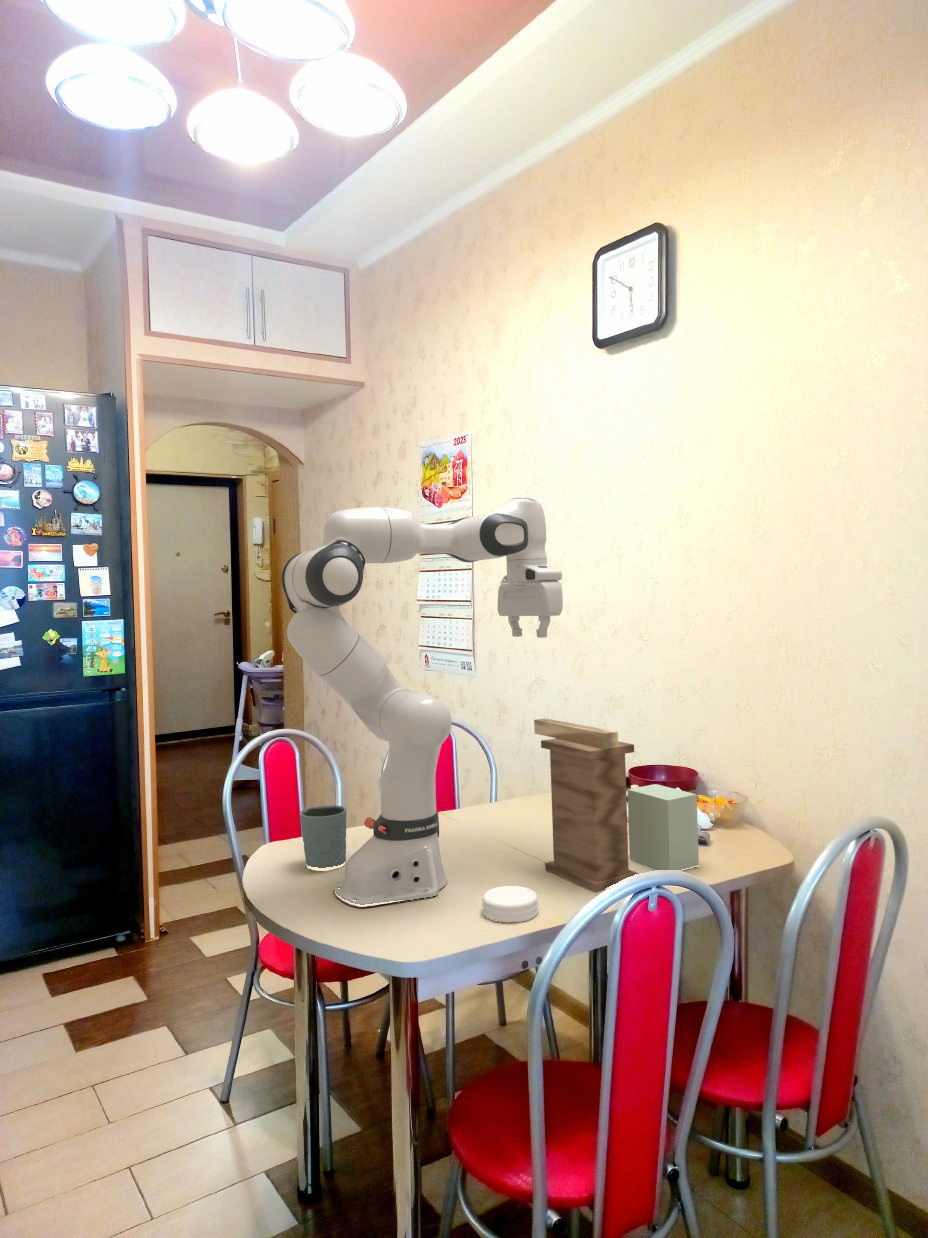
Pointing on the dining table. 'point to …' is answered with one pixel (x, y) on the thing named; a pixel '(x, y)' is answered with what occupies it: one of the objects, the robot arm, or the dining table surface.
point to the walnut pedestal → (589, 813)
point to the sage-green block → (663, 827)
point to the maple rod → (577, 733)
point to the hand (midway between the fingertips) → (529, 637)
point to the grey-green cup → (324, 835)
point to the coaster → (510, 904)
